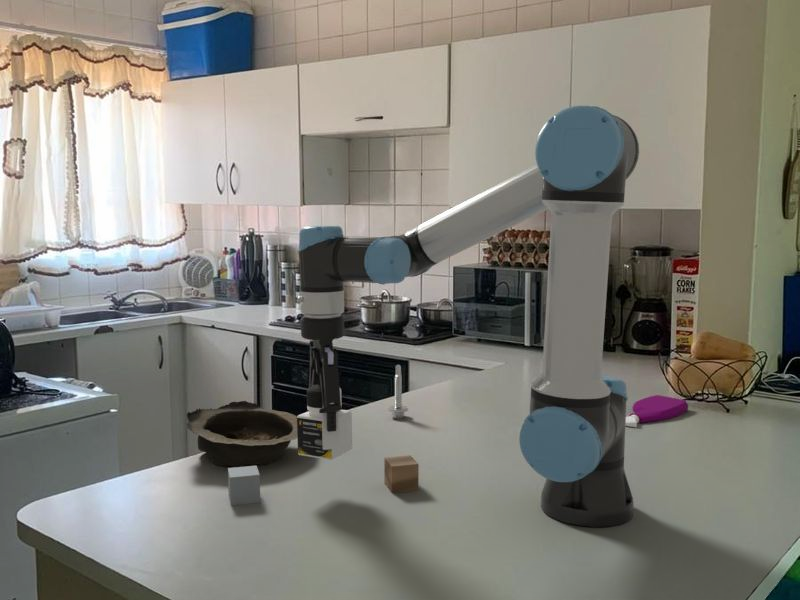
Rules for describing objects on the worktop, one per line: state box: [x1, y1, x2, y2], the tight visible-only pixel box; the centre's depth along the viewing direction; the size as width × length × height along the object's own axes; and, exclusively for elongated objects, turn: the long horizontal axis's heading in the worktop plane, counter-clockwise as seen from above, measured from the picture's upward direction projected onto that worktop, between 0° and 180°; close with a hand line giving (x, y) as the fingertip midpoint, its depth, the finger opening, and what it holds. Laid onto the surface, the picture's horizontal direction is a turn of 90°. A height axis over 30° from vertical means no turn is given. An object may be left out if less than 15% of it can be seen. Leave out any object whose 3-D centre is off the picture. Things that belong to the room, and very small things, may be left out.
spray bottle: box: [625, 394, 689, 428], centre depth 191 cm, size 3×11×24 cm
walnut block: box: [383, 455, 420, 494], centre depth 143 cm, size 5×5×5 cm
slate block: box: [227, 465, 261, 506], centre depth 137 cm, size 5×5×5 cm
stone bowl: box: [186, 400, 298, 468], centre depth 160 cm, size 25×25×9 cm
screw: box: [387, 364, 409, 419], centre depth 189 cm, size 13×5×5 cm
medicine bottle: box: [296, 384, 353, 461], centre depth 138 cm, size 7×7×12 cm
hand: (325, 440), depth 139 cm, fingers closed on medicine bottle, 10 cm apart
